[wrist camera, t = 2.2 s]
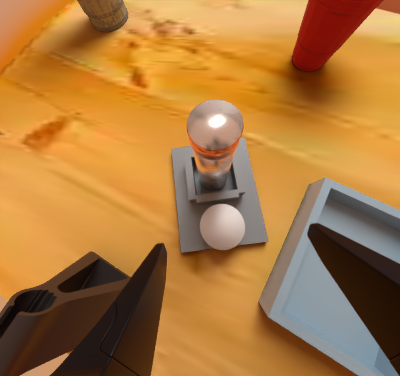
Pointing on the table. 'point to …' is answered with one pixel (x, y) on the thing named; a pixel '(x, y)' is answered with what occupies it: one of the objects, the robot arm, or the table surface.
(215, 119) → the salt shaker
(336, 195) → the tray
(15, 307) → the phone stand
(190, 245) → the plate
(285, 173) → the table surface
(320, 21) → the plastic cup
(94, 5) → the thermos
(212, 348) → the table surface
